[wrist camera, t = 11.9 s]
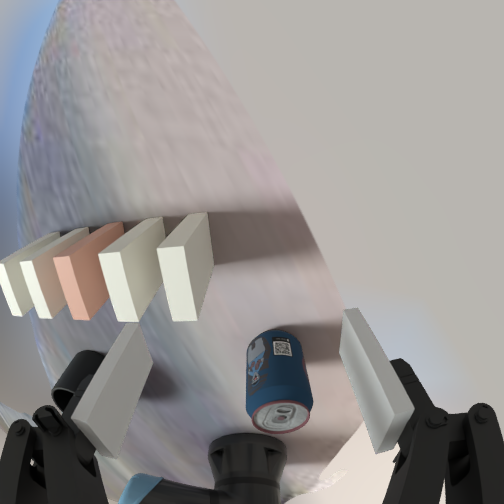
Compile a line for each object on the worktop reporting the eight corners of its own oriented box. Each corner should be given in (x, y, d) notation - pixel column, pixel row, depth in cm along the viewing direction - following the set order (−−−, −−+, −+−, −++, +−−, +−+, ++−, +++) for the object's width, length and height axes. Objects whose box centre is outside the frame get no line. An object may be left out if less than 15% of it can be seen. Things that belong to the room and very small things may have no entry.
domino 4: (162, 216, 29) (119, 251, 19) (171, 268, 31) (138, 321, 21) (145, 218, 29) (98, 253, 19) (155, 269, 31) (118, 321, 21)
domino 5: (207, 212, 29) (183, 246, 19) (214, 265, 31) (197, 320, 21) (188, 213, 29) (156, 248, 19) (196, 266, 31) (173, 321, 21)
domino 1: (59, 231, 30) (3, 263, 19) (70, 274, 32) (22, 316, 21) (49, 233, 30) (-6, 264, 19) (60, 275, 32) (12, 315, 21)
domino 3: (122, 221, 29) (69, 256, 19) (132, 270, 31) (90, 320, 21) (107, 223, 29) (52, 257, 19) (118, 271, 32) (73, 319, 21)
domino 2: (88, 226, 30) (31, 260, 19) (99, 272, 32) (52, 318, 21) (76, 228, 30) (19, 261, 19) (87, 273, 32) (39, 317, 21)
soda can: (292, 367, 37) (304, 437, 25) (243, 362, 36) (240, 434, 25) (306, 328, 34) (325, 399, 23) (251, 321, 34) (251, 395, 23)
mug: (134, 404, 40) (120, 444, 32) (74, 374, 38) (53, 409, 30) (144, 373, 37) (126, 418, 29) (76, 339, 36) (48, 377, 27)
